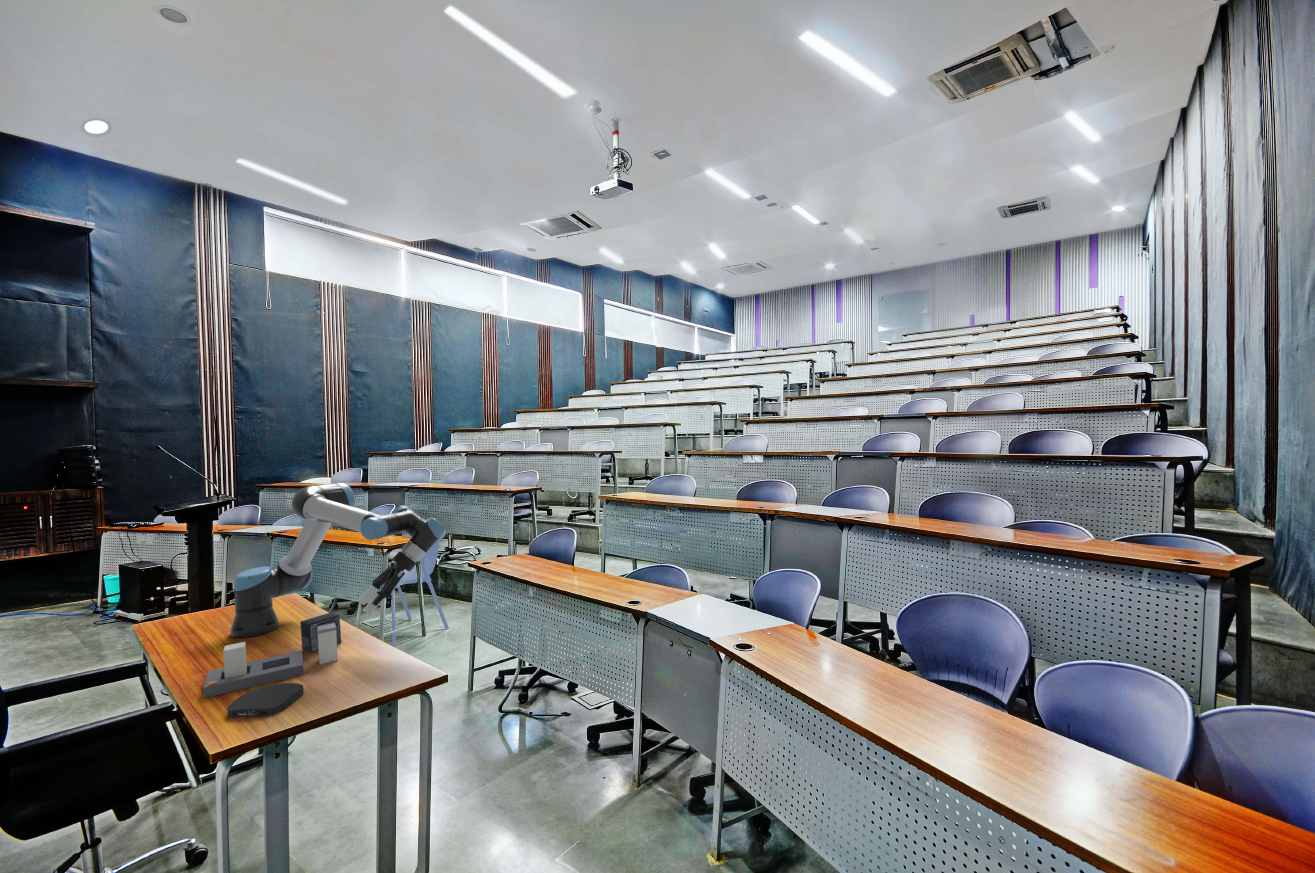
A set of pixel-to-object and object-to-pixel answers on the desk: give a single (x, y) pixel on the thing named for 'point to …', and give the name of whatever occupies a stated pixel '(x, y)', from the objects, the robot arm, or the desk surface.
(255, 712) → the media streaming box
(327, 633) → the white plug
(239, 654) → the gray slotted dock
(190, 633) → the desk surface
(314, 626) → the small box
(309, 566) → the robot arm
